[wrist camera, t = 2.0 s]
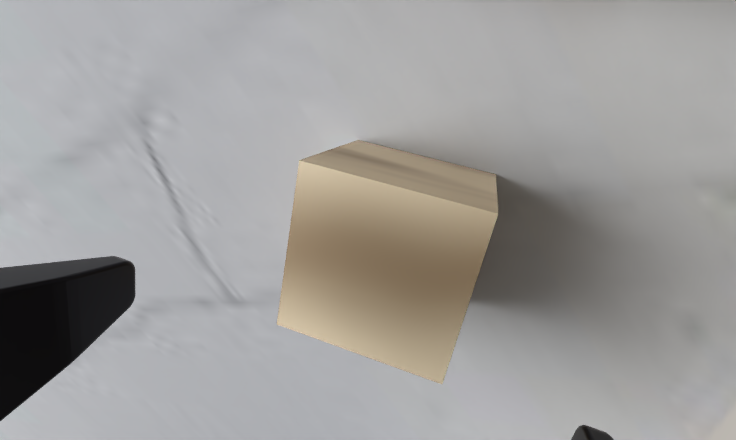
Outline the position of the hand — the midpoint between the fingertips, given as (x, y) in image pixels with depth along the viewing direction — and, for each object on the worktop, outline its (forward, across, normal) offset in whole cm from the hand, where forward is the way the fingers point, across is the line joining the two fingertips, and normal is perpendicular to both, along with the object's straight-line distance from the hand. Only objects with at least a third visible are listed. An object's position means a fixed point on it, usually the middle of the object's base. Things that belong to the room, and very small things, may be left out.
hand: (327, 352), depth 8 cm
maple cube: (+8, 0, 0) cm, 8 cm away
